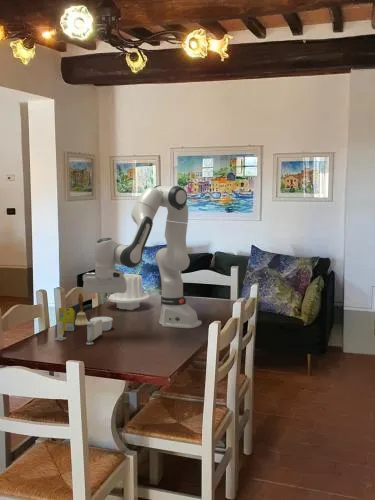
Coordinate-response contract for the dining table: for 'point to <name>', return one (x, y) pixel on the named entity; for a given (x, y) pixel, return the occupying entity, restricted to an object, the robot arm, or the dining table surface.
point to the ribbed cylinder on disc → (130, 293)
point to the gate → (96, 328)
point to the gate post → (89, 335)
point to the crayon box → (67, 318)
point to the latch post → (60, 331)
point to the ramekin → (104, 322)
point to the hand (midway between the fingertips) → (105, 301)
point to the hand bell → (81, 313)
